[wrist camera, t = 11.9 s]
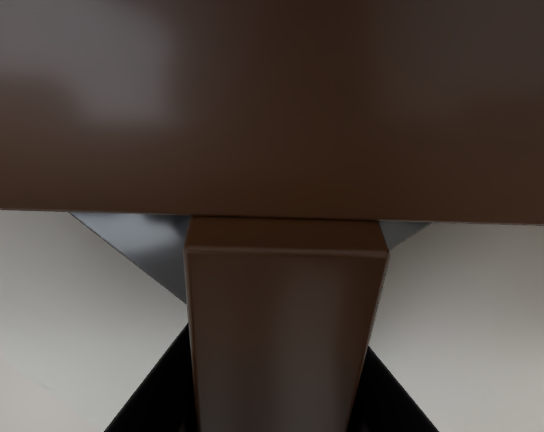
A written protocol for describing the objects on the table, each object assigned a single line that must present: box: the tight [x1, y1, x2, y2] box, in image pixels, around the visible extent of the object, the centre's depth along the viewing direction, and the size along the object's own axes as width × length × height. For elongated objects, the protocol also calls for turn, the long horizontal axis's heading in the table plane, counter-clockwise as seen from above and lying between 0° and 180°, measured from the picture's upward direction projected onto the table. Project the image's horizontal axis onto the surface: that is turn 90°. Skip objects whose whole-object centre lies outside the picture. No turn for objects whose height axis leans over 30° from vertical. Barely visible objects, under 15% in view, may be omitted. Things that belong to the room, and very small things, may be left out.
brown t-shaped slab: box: [0, 0, 544, 432], centre depth 8 cm, size 13×7×4 cm, turn 177°
